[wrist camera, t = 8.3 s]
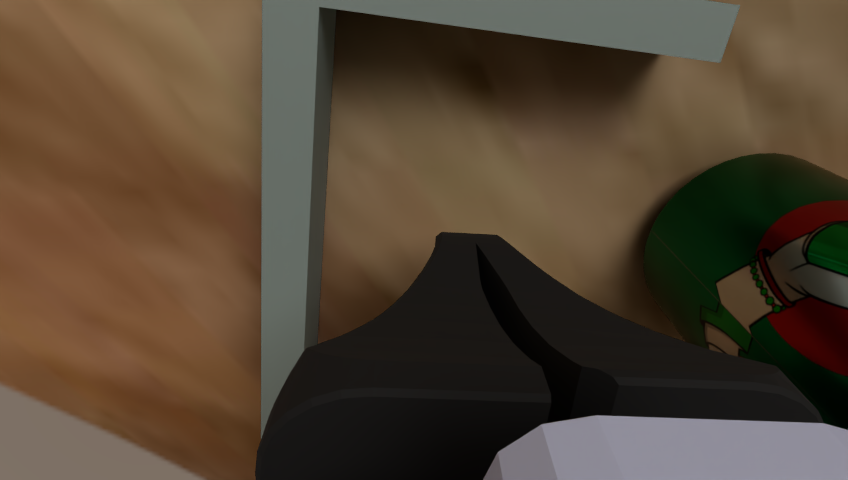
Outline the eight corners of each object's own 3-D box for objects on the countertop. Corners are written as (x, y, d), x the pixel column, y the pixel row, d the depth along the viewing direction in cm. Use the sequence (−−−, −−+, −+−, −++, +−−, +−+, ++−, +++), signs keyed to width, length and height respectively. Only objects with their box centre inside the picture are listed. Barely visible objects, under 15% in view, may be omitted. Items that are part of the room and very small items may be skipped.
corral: (1291, 90, 13) (1473, 113, 11) (1002, 452, 18) (1085, 518, 16) (291, -57, 11) (262, -66, 9) (281, 388, 17) (260, 452, 14)
